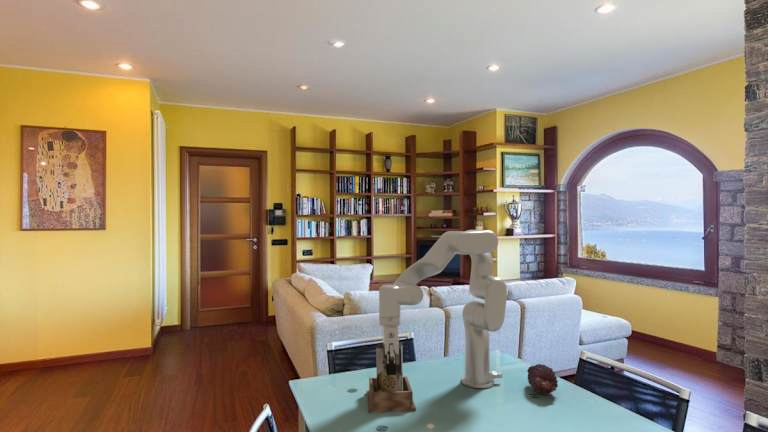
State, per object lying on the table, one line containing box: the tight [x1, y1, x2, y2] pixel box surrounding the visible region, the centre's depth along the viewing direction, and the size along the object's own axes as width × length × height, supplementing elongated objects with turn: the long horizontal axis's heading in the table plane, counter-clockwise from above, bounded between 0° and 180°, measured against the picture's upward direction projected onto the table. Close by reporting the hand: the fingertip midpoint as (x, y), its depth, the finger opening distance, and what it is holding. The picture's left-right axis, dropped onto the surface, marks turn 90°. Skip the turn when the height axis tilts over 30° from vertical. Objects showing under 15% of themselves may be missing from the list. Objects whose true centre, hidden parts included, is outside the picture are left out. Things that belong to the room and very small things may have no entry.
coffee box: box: [375, 342, 404, 392], centre depth 149 cm, size 9×6×16 cm
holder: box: [365, 376, 417, 414], centre depth 149 cm, size 16×16×6 cm
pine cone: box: [527, 363, 559, 396], centre depth 157 cm, size 18×10×10 cm, turn 4°
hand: (389, 370), depth 149 cm, fingers closed on coffee box, 7 cm apart
